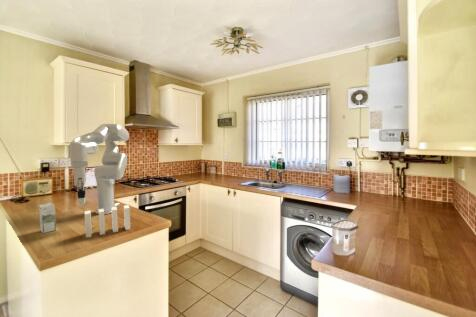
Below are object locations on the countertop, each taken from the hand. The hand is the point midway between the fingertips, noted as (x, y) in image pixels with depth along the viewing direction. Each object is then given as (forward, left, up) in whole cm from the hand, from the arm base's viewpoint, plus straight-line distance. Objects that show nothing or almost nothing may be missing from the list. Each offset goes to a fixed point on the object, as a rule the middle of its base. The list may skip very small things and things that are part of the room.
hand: (81, 196), depth 128 cm
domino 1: (+7, +14, -17) cm, 23 cm away
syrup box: (+11, -11, -18) cm, 24 cm away
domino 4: (-7, +25, -17) cm, 31 cm away
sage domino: (0, 0, -4) cm, 4 cm away
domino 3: (-3, +21, -17) cm, 28 cm away
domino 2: (+2, +18, -17) cm, 25 cm away
